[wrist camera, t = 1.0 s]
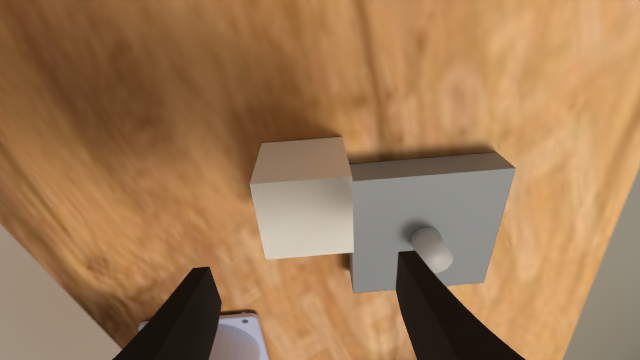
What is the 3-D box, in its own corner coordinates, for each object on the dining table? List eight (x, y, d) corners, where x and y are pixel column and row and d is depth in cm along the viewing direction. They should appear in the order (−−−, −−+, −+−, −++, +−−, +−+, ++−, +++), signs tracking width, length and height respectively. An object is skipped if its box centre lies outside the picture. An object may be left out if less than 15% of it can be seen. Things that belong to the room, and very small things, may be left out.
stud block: (349, 271, 23) (357, 318, 20) (346, 164, 19) (355, 202, 15) (470, 261, 23) (499, 307, 20) (496, 152, 19) (539, 187, 15)
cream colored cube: (273, 208, 20) (265, 259, 16) (261, 143, 18) (249, 184, 14) (344, 202, 20) (353, 252, 16) (342, 136, 18) (352, 175, 14)
